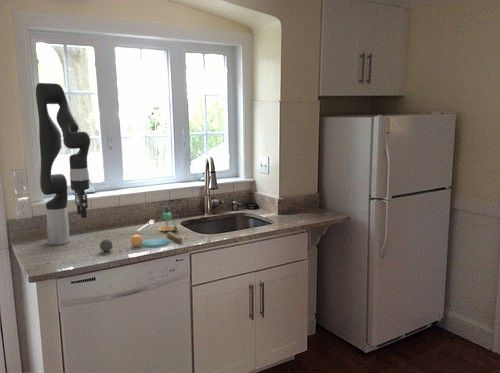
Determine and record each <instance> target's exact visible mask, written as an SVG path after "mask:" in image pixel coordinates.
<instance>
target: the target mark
mask: <svg viewBox="0 0 500 373" xmlns="http://www.w3.org/2000/svg"><path fill="white" fill-rule="evenodd" d="M170 243H171V242H170V239H165V238H150V239H145V240H142V244H141V245H140V246H142V247H144V248H150V249H151V248H152V249H153V247H156V248H162V246H163V247H166V246H168V245H170Z"/></svg>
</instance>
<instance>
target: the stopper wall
mask: <svg viewBox="0 0 500 373" xmlns="http://www.w3.org/2000/svg"><path fill="white" fill-rule="evenodd" d="M166 237H167V238H168V239H169V240H171V241H173V242H175V243H176V244H178V245H180V244H183V238H182V237H181V236H179V235H177V233H173V231H166Z"/></svg>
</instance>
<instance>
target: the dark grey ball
mask: <svg viewBox="0 0 500 373" xmlns="http://www.w3.org/2000/svg"><path fill="white" fill-rule="evenodd" d="M99 248H100V250H101V251H102V252H106V253H107V252H110V251H111V250H112V249H113V242H112V241H111V240H110V239H103V240H101V242H100V243H99Z"/></svg>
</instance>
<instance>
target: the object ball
mask: <svg viewBox="0 0 500 373" xmlns="http://www.w3.org/2000/svg"><path fill="white" fill-rule="evenodd" d="M129 241H130V244H131V245H132V246H133V247H137V248H138V247H140V246H141V244H142V241H143V238H142V236H141V235H139V234H135V235H132V236H131V238H130V240H129Z"/></svg>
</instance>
